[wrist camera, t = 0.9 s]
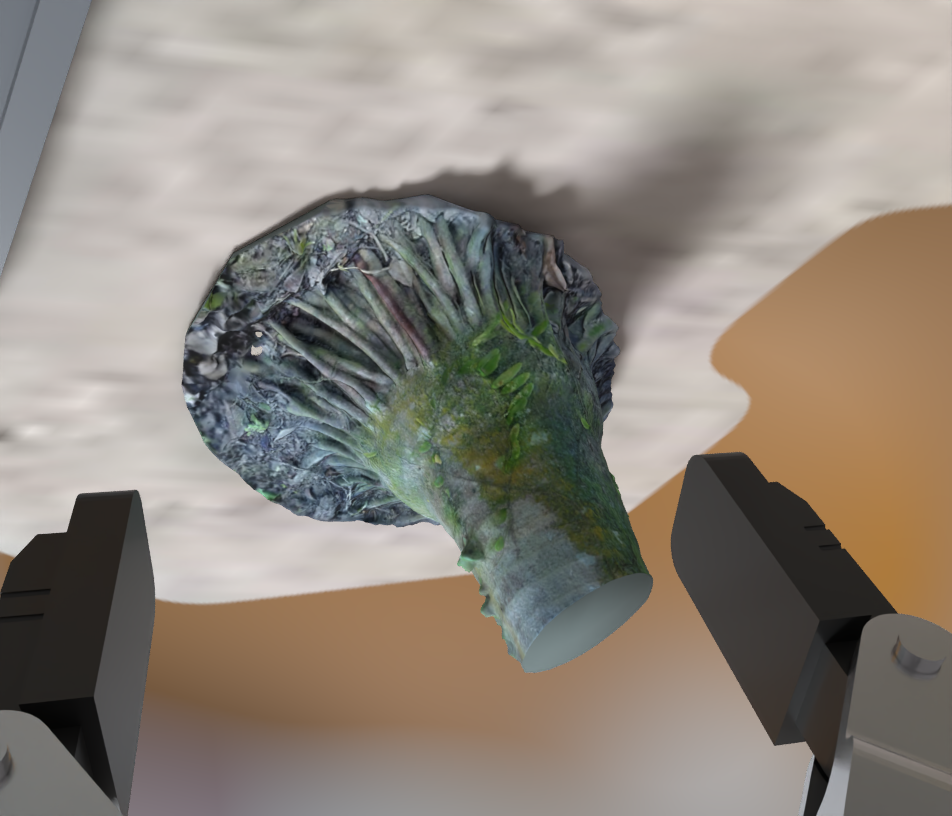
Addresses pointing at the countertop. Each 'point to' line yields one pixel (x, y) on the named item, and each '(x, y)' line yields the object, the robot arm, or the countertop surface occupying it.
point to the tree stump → (430, 402)
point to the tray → (30, 92)
